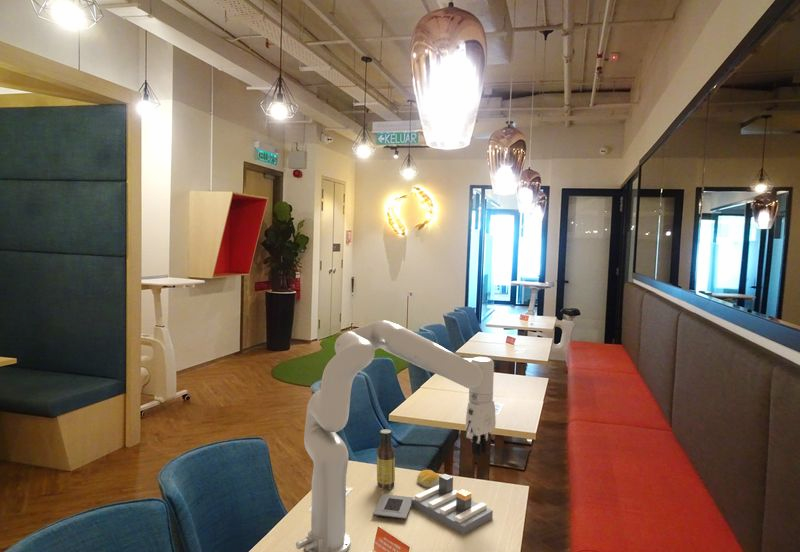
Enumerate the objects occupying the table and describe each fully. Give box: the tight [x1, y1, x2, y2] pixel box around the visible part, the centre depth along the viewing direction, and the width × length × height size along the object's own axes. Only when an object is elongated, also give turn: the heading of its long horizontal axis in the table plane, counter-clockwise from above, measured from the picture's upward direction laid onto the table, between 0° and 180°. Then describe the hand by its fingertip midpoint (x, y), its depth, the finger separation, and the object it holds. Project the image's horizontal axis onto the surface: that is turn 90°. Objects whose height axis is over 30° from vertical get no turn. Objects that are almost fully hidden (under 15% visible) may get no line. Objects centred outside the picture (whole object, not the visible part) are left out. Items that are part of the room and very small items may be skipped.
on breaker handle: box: [439, 473, 454, 495], centre depth 175 cm, size 3×4×6 cm
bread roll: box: [416, 469, 441, 489], centre depth 189 cm, size 8×9×4 cm
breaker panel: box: [411, 485, 494, 536], centre depth 168 cm, size 14×22×4 cm, turn 43°
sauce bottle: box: [376, 429, 396, 490], centre depth 184 cm, size 6×6×20 cm
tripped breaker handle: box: [456, 488, 472, 512], centre depth 164 cm, size 3×4×6 cm
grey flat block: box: [372, 493, 415, 520], centre depth 169 cm, size 13×10×2 cm
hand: (479, 452), depth 168 cm, fingers closed
